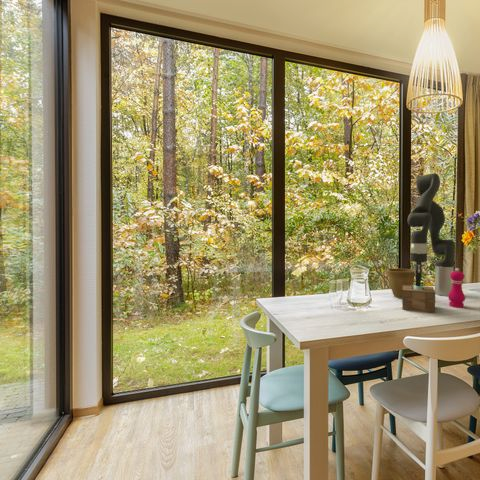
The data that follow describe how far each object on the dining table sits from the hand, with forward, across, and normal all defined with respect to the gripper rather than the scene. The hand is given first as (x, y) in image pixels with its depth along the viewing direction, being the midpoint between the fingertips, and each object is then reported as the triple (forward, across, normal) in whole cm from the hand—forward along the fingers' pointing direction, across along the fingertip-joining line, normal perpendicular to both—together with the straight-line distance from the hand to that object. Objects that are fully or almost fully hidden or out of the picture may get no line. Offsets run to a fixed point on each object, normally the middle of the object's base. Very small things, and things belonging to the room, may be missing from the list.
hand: (418, 285), depth 160 cm
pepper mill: (+12, -12, +18) cm, 25 cm away
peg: (+9, 0, 0) cm, 9 cm away
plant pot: (+12, -23, -8) cm, 27 cm away
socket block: (+11, 0, 0) cm, 11 cm away
